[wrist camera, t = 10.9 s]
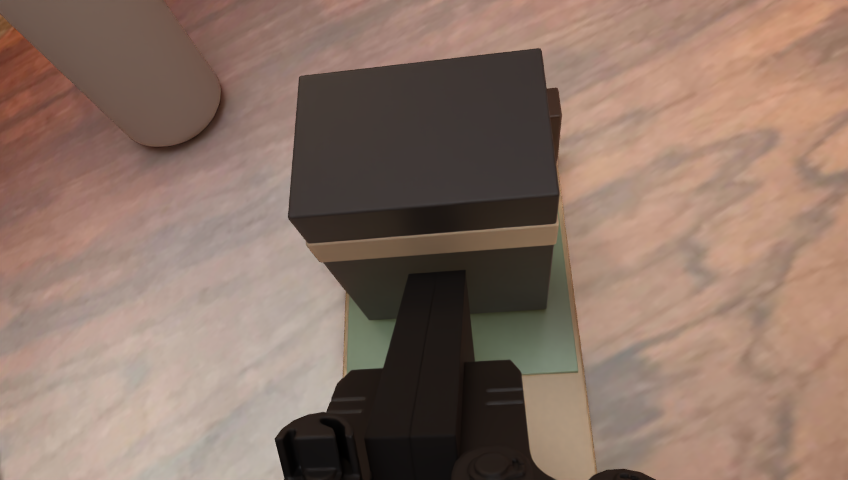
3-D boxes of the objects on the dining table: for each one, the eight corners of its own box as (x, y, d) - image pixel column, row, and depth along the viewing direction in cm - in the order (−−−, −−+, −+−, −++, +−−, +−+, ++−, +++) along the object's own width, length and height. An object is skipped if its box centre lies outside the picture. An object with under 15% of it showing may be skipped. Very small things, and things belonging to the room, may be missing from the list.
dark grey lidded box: (548, 311, 20) (562, 197, 13) (367, 322, 21) (284, 220, 14) (536, 200, 22) (543, 44, 15) (368, 215, 23) (296, 73, 15)
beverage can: (123, 163, 27) (-142, -69, 16) (130, 78, 29) (-104, -179, 18) (227, 141, 27) (26, -113, 16) (226, 56, 29) (47, -219, 18)
